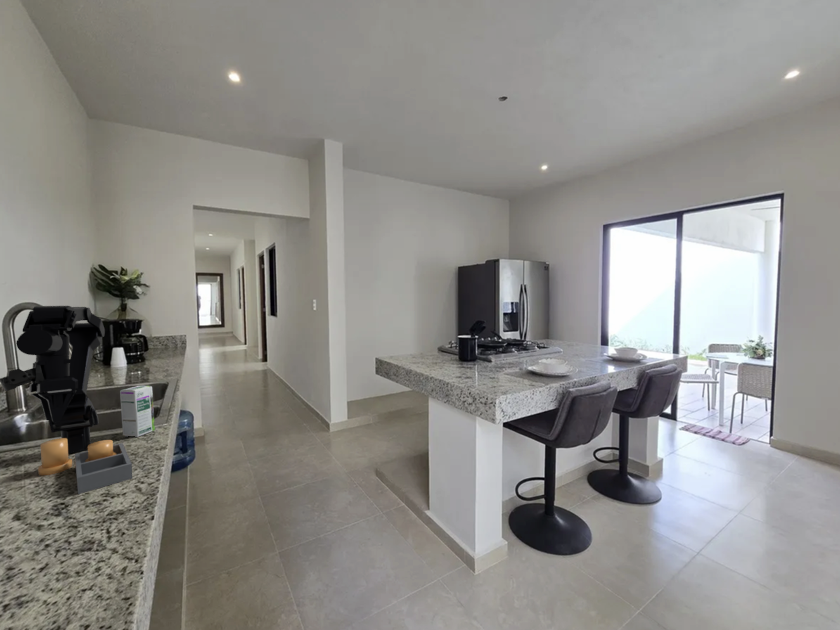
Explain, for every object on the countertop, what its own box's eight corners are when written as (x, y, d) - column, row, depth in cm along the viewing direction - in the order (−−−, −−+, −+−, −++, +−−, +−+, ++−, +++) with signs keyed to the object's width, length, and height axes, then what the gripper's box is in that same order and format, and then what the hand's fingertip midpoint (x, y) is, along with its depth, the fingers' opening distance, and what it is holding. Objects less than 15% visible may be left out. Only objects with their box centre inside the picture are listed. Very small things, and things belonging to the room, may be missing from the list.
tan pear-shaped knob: (39, 470, 87) (37, 442, 87) (72, 462, 91) (70, 435, 91) (38, 478, 83) (36, 448, 83) (72, 469, 87) (70, 441, 87)
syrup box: (137, 437, 107) (135, 390, 106) (121, 436, 108) (119, 389, 108) (155, 430, 113) (153, 385, 112) (140, 429, 114) (137, 384, 113)
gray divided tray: (75, 467, 88) (74, 443, 88) (123, 455, 94) (122, 433, 94) (78, 494, 76) (76, 466, 75) (132, 478, 82) (131, 453, 82)
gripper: (-1, 361, 86) (-2, 426, 85) (6, 356, 75) (5, 431, 73) (63, 357, 95) (63, 416, 93) (78, 353, 84) (78, 420, 82)
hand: (52, 421), depth 85 cm, fingers open, 9 cm apart
